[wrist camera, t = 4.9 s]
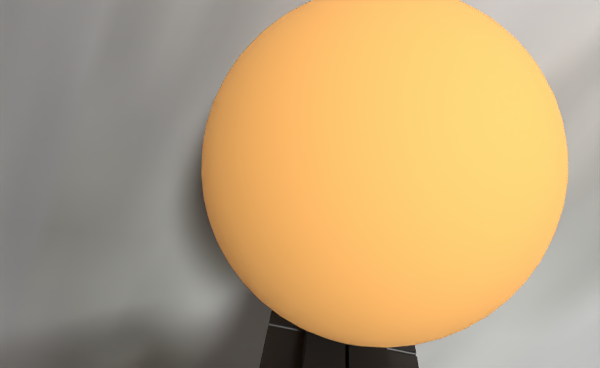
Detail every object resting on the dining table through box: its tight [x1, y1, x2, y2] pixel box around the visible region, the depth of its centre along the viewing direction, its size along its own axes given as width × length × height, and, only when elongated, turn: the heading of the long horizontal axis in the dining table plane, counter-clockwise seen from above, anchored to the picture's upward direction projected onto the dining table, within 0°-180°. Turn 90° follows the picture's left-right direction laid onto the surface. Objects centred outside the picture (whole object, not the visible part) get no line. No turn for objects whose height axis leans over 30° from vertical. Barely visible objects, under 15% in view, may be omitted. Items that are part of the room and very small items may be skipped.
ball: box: [201, 0, 568, 348], centre depth 8 cm, size 6×6×6 cm
